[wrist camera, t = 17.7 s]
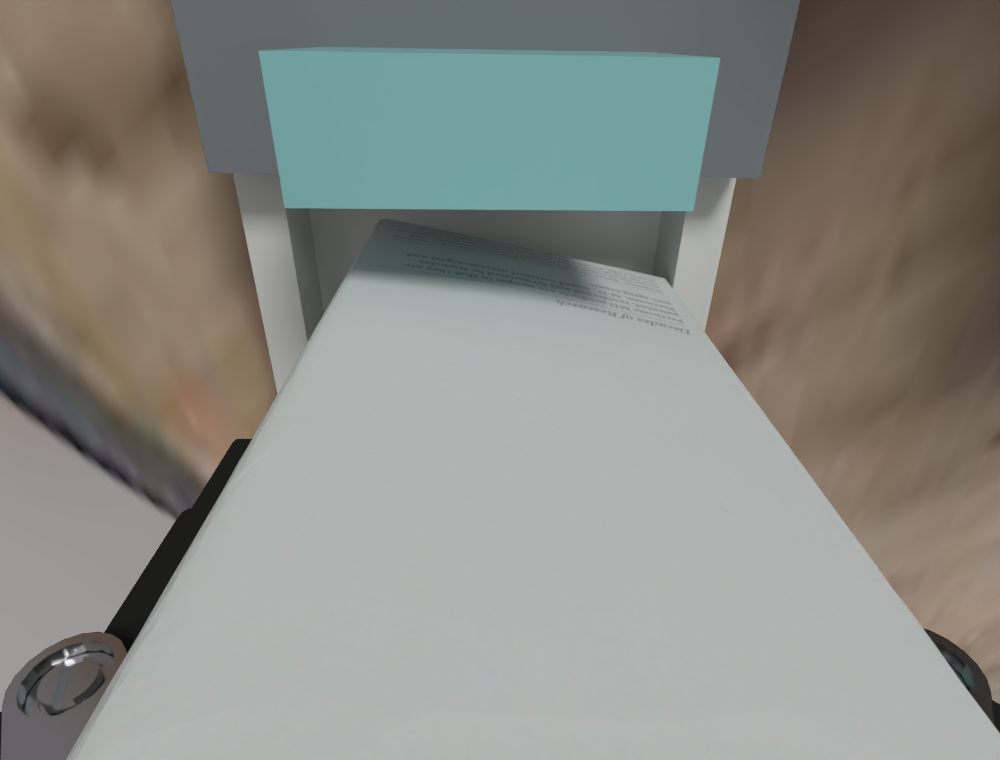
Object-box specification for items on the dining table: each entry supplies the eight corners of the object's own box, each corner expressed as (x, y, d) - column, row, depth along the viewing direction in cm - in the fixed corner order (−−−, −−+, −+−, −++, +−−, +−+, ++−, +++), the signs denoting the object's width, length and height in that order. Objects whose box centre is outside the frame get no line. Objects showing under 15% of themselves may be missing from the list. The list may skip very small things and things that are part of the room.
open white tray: (650, 491, 22) (674, 553, 19) (317, 493, 21) (294, 557, 19) (797, -303, 11) (889, -403, 9) (168, -325, 11) (74, -435, 9)
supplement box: (374, 206, 14) (-60, 864, 3) (672, 274, 15) (1221, 955, 4) (342, 456, 17) (95, 1179, 6) (584, 497, 18) (734, 1182, 7)
